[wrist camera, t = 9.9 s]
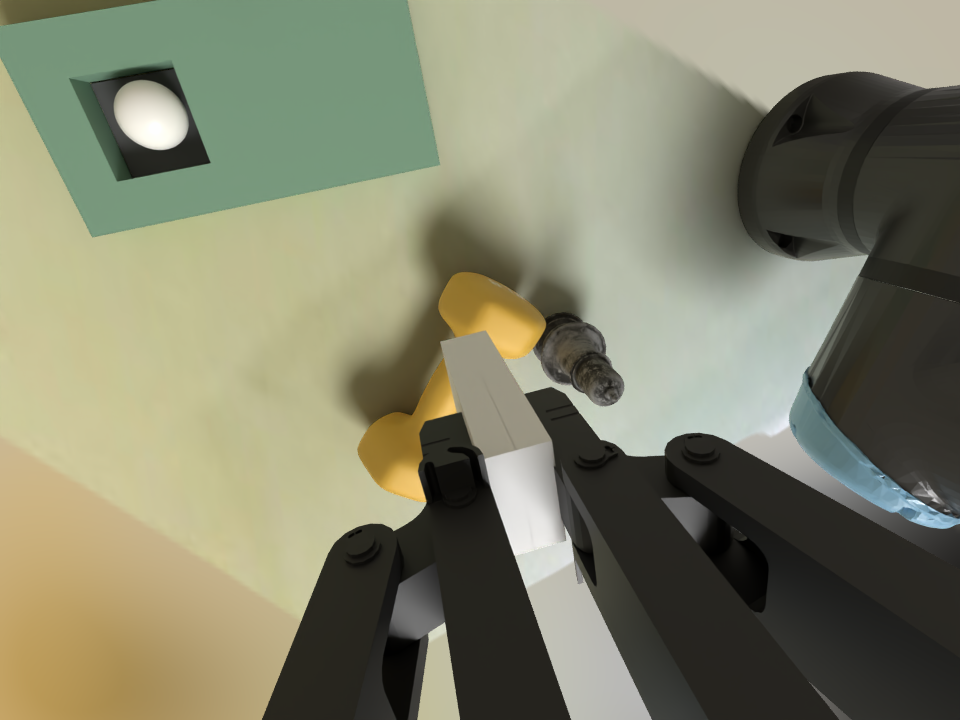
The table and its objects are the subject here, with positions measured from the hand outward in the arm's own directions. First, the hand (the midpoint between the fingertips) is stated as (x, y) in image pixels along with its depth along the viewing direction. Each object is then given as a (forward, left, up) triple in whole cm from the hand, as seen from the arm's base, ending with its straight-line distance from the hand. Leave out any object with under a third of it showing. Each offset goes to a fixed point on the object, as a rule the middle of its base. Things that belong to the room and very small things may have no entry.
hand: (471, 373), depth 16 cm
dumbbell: (0, +12, -27) cm, 29 cm away
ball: (+14, -11, -24) cm, 30 cm away
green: (+9, -11, -26) cm, 30 cm away
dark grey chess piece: (-11, +12, -27) cm, 31 cm away
